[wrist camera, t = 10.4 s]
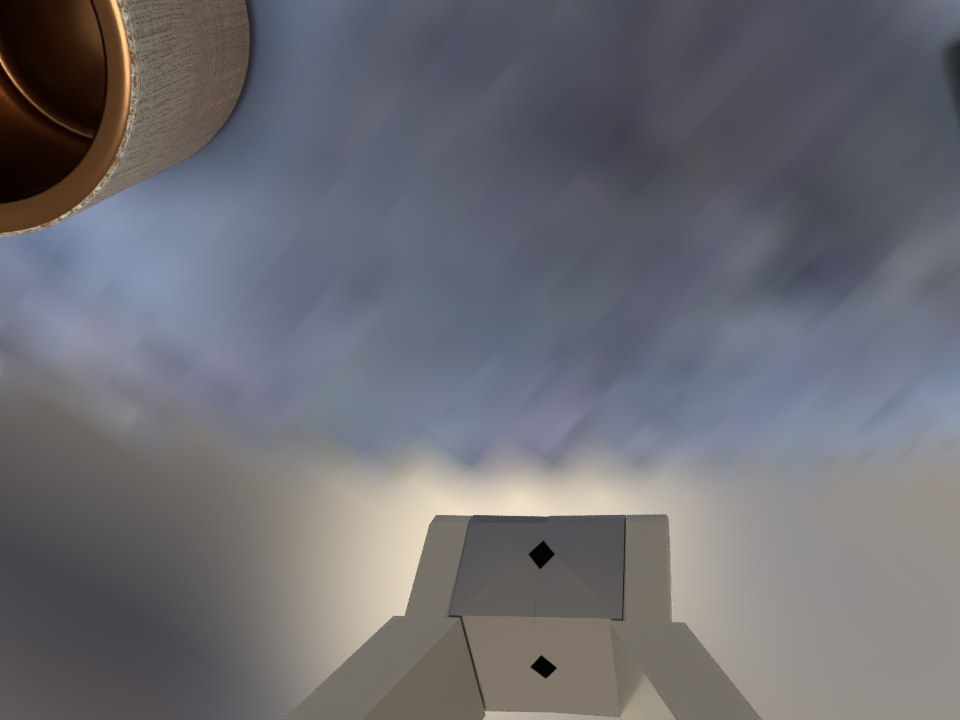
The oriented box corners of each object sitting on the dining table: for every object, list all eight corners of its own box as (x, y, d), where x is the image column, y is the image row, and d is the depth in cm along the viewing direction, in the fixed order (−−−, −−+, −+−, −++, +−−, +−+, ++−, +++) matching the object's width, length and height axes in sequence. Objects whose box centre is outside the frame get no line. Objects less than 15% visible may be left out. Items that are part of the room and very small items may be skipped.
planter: (33, -230, 28) (-201, -312, 20) (312, -17, 30) (211, -6, 22) (-77, 52, 32) (-310, 87, 24) (173, 222, 34) (43, 311, 26)
